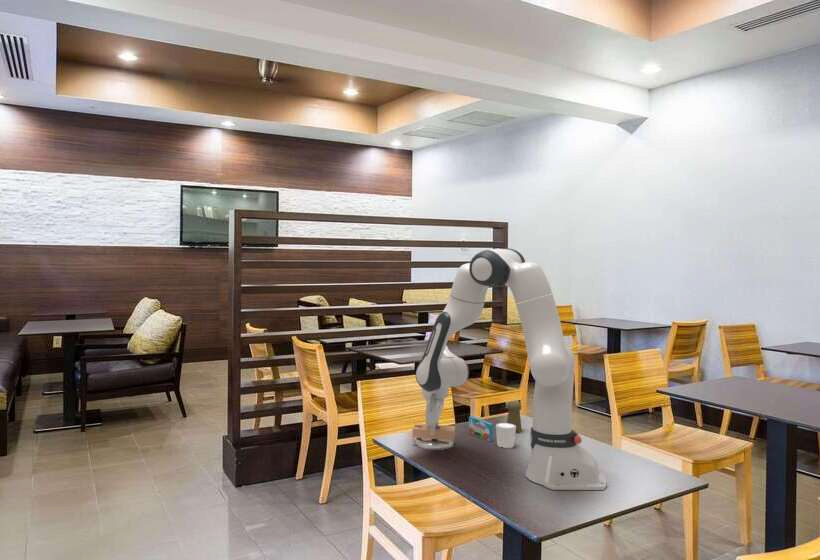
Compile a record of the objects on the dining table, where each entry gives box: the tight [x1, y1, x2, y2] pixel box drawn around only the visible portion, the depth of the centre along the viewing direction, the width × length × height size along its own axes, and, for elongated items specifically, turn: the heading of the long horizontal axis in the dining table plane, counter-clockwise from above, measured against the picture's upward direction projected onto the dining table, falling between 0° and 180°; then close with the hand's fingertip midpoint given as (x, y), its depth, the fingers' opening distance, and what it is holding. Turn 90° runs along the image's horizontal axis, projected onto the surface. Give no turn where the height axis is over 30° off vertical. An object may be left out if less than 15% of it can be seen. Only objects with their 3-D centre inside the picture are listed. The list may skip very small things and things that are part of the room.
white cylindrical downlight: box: [495, 422, 516, 449], centre depth 192 cm, size 7×7×7 cm
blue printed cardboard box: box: [467, 415, 494, 442], centre depth 201 cm, size 12×2×6 cm, turn 31°
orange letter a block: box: [411, 423, 456, 440], centre depth 192 cm, size 14×6×3 cm, turn 80°
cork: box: [506, 400, 523, 434], centre depth 209 cm, size 6×6×11 cm
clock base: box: [415, 428, 455, 451], centre depth 192 cm, size 13×13×6 cm
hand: (434, 431), depth 192 cm, fingers closed on orange letter a block, 6 cm apart
